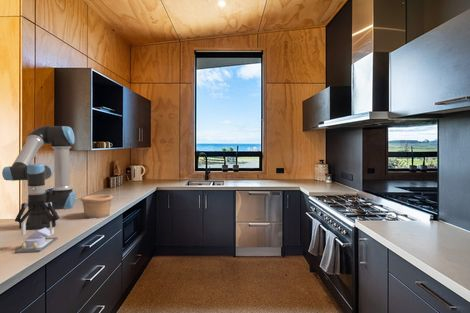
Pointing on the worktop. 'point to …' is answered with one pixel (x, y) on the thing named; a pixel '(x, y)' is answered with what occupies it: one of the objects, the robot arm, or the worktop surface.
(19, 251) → the pin plate
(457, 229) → the worktop surface
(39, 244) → the wedge on round base
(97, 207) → the pottery
